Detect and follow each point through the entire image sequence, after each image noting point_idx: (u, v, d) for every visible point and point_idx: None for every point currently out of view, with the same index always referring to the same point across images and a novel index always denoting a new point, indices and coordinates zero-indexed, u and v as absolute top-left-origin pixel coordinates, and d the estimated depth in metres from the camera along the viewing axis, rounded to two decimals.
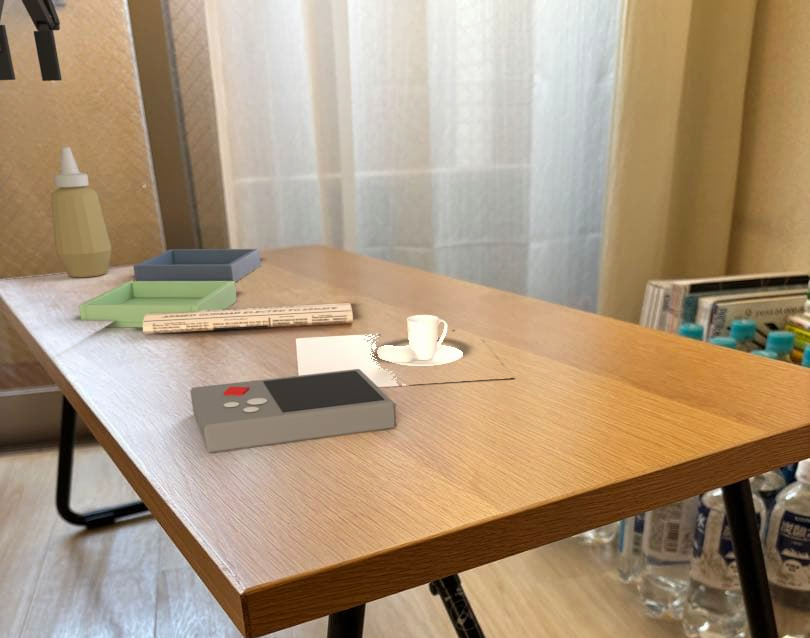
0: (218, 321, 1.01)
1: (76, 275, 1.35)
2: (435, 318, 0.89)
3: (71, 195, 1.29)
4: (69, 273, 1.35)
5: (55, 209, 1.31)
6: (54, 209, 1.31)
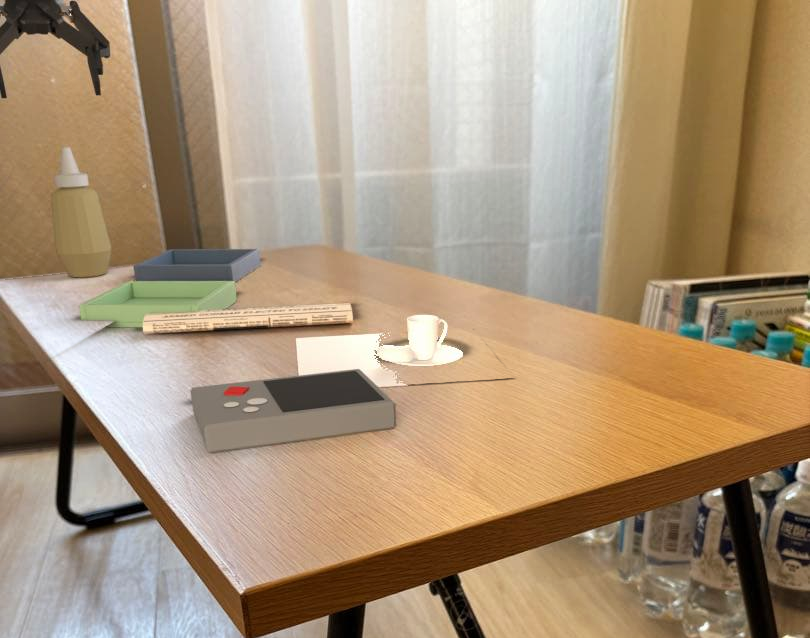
0: (218, 321, 1.01)
1: (76, 275, 1.35)
2: (435, 318, 0.89)
3: (71, 195, 1.29)
4: (69, 273, 1.35)
5: (55, 209, 1.31)
6: (54, 209, 1.31)
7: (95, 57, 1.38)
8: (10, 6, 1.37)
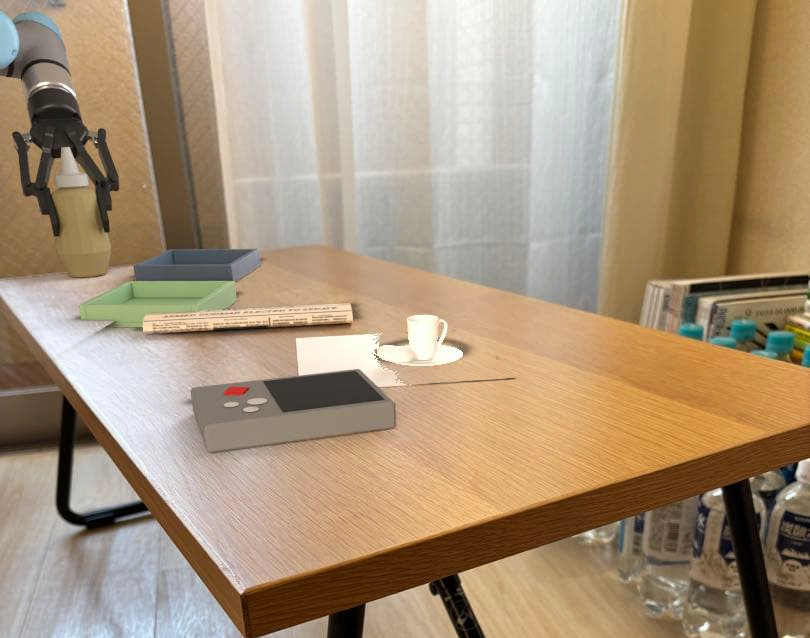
0: (218, 321, 1.01)
1: (76, 275, 1.35)
2: (435, 318, 0.89)
3: (71, 195, 1.29)
4: (69, 273, 1.35)
5: (55, 209, 1.31)
6: (54, 209, 1.31)
7: (104, 193, 1.33)
8: (37, 131, 1.34)
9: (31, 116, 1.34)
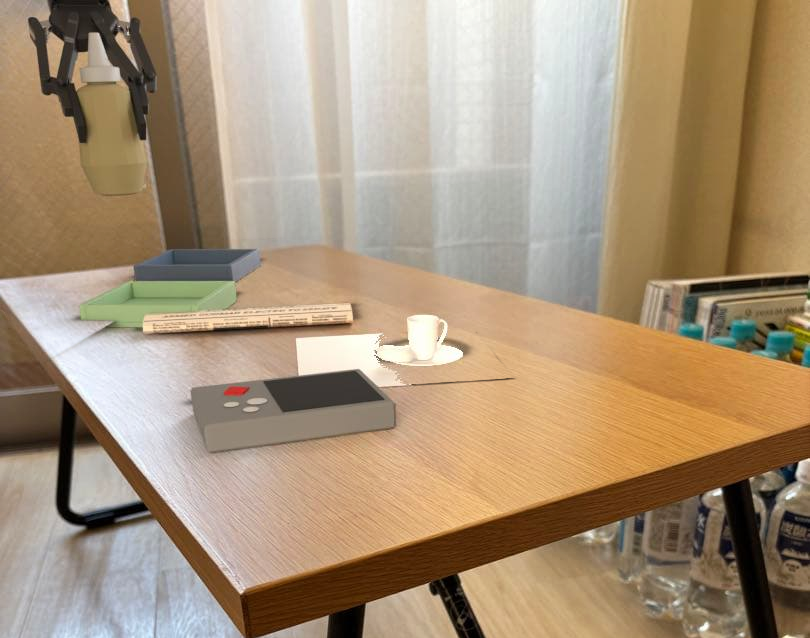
0: (218, 321, 1.01)
1: (105, 192, 1.12)
2: (435, 318, 0.89)
3: (101, 91, 1.07)
4: (97, 190, 1.12)
5: (81, 110, 1.08)
6: None
7: (139, 93, 1.11)
8: (58, 18, 1.11)
9: (50, 0, 1.11)
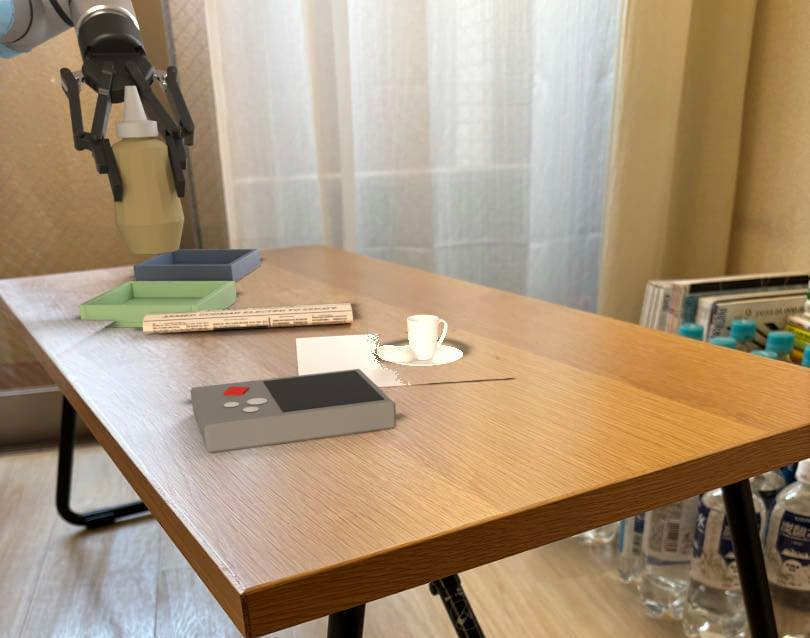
0: (218, 321, 1.01)
1: (141, 252, 1.06)
2: (435, 318, 0.89)
3: (138, 147, 1.00)
4: (132, 250, 1.06)
5: (117, 167, 1.02)
6: None
7: (177, 147, 1.04)
8: (91, 68, 1.05)
9: (83, 49, 1.05)
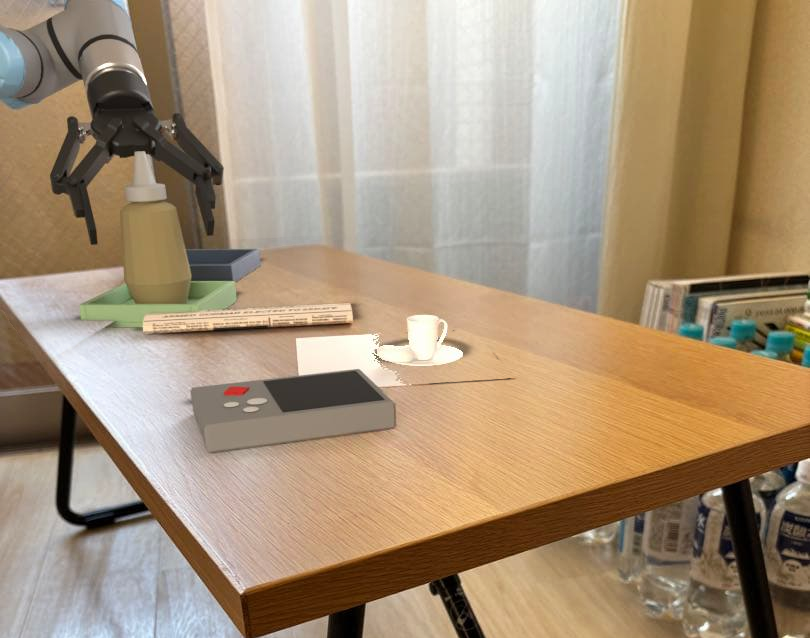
0: (218, 321, 1.01)
1: None
2: (435, 318, 0.89)
3: (147, 211, 1.03)
4: None
5: (126, 229, 1.05)
6: (124, 229, 1.05)
7: (206, 187, 1.09)
8: (100, 124, 1.07)
9: (92, 105, 1.08)
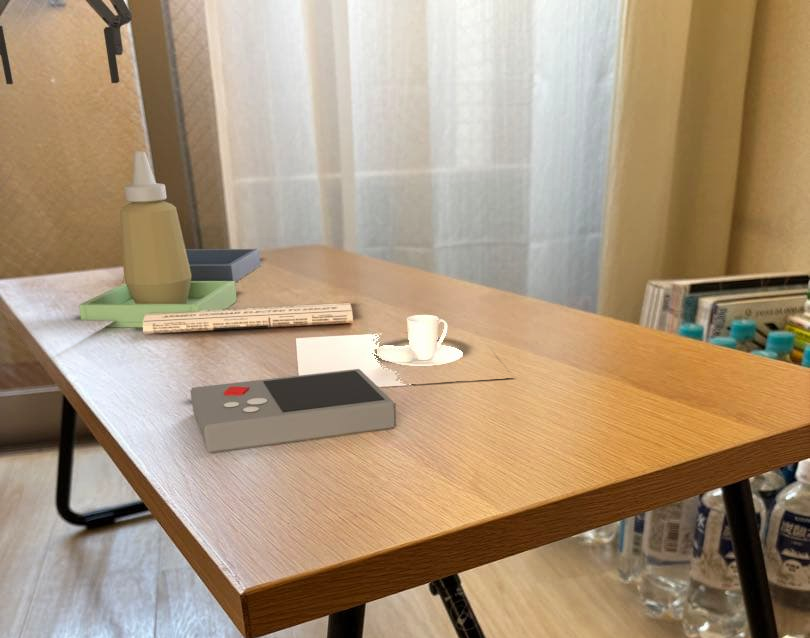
0: (218, 321, 1.01)
1: None
2: (435, 318, 0.89)
3: (147, 211, 1.03)
4: None
5: (126, 229, 1.05)
6: (124, 229, 1.05)
7: (114, 37, 1.21)
8: None
9: None
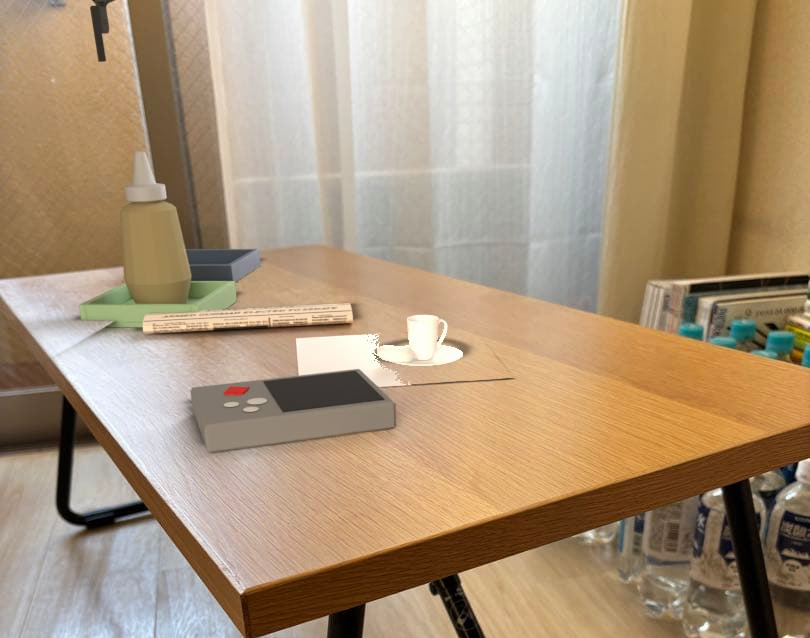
0: (218, 321, 1.01)
1: None
2: (435, 318, 0.89)
3: (147, 211, 1.03)
4: None
5: (126, 229, 1.05)
6: (124, 229, 1.05)
7: (101, 15, 1.20)
8: None
9: None
